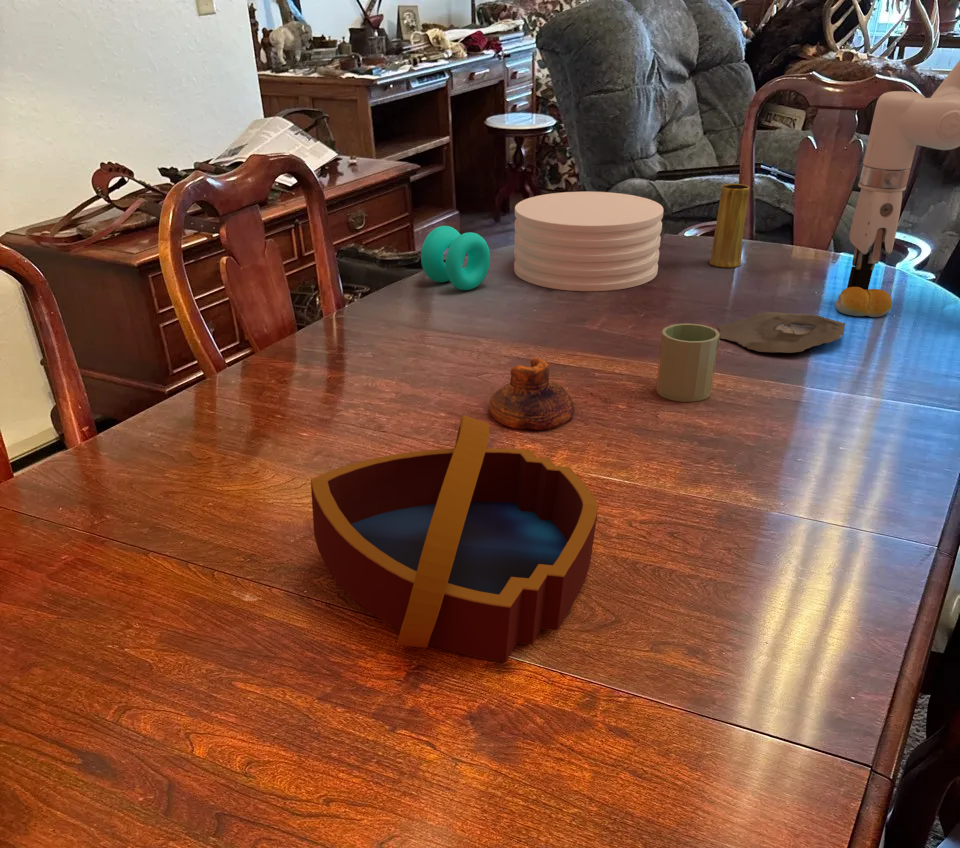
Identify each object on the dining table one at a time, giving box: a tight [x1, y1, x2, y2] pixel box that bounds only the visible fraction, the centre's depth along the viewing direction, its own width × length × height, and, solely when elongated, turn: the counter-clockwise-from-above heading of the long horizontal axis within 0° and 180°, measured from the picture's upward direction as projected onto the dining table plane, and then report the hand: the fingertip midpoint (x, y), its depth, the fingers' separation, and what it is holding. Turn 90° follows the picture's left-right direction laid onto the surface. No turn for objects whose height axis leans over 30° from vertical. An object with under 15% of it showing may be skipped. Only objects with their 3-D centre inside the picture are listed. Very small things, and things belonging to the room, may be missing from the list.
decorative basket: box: [310, 414, 599, 663], centre depth 95 cm, size 34×29×15 cm
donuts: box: [420, 225, 491, 291], centre depth 177 cm, size 10×10×10 cm
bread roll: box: [835, 287, 893, 318], centre depth 164 cm, size 8×9×4 cm
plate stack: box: [513, 191, 664, 292], centre depth 184 cm, size 28×28×12 cm
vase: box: [709, 183, 751, 269], centre depth 185 cm, size 6×6×14 cm
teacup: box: [655, 323, 721, 403], centre depth 135 cm, size 8×8×8 cm
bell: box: [488, 357, 575, 431], centre depth 129 cm, size 12×12×7 cm
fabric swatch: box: [716, 311, 846, 354], centre depth 155 cm, size 19×22×2 cm
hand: (856, 291), depth 168 cm, fingers closed
